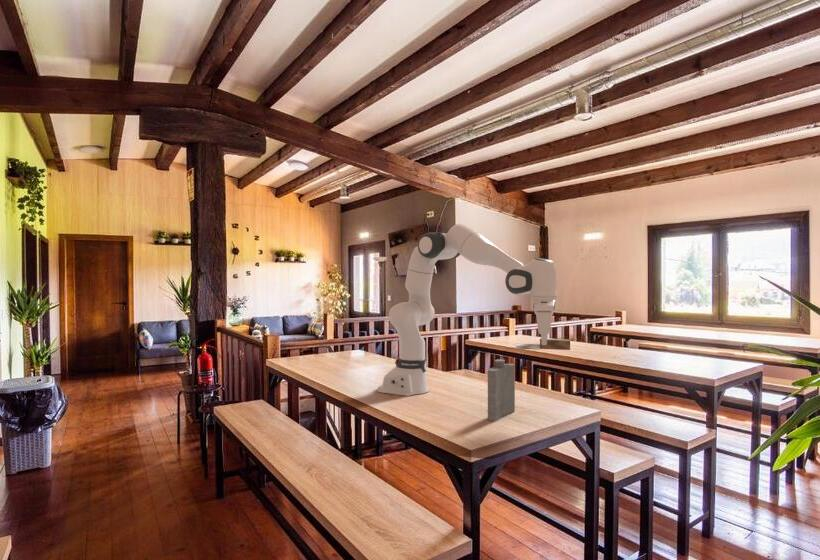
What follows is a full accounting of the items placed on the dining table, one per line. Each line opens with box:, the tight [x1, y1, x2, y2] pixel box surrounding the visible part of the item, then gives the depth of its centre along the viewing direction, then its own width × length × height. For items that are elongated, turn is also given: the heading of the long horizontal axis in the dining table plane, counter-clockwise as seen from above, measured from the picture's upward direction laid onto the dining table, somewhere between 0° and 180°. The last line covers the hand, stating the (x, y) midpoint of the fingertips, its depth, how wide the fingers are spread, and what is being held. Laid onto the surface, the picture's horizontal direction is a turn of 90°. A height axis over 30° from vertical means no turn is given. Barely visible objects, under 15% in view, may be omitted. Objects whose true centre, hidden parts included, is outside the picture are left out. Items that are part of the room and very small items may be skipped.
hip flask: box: [487, 359, 516, 422], centre depth 166 cm, size 16×4×20 cm, turn 139°
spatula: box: [515, 338, 571, 351], centre depth 161 cm, size 18×6×3 cm, turn 74°
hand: (544, 343), depth 161 cm, fingers closed on spatula, 2 cm apart
